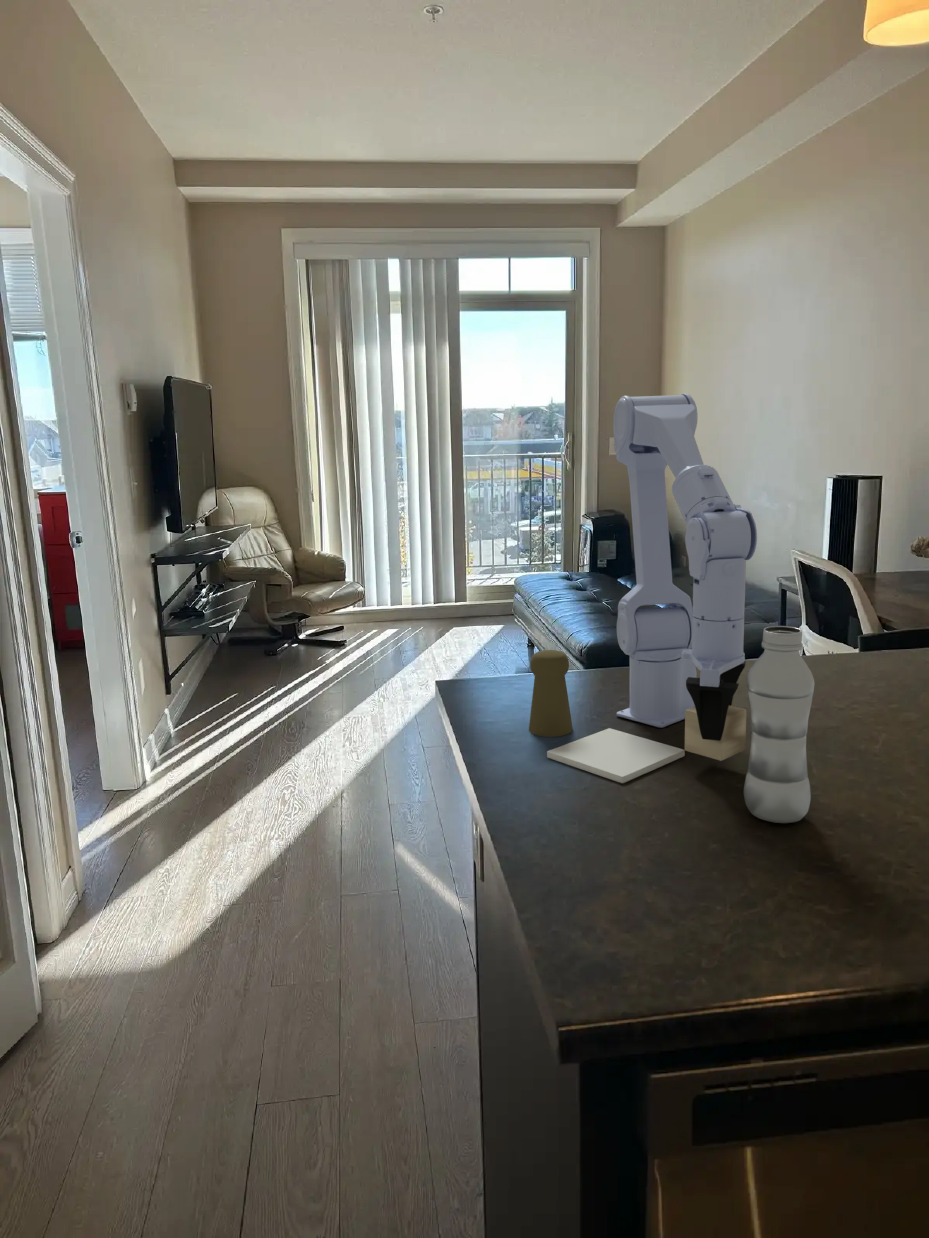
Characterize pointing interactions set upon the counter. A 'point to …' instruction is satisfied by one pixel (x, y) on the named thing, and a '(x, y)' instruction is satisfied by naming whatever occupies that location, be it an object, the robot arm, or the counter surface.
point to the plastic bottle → (779, 728)
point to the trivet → (616, 754)
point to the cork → (550, 695)
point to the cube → (715, 749)
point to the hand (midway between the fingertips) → (715, 728)
